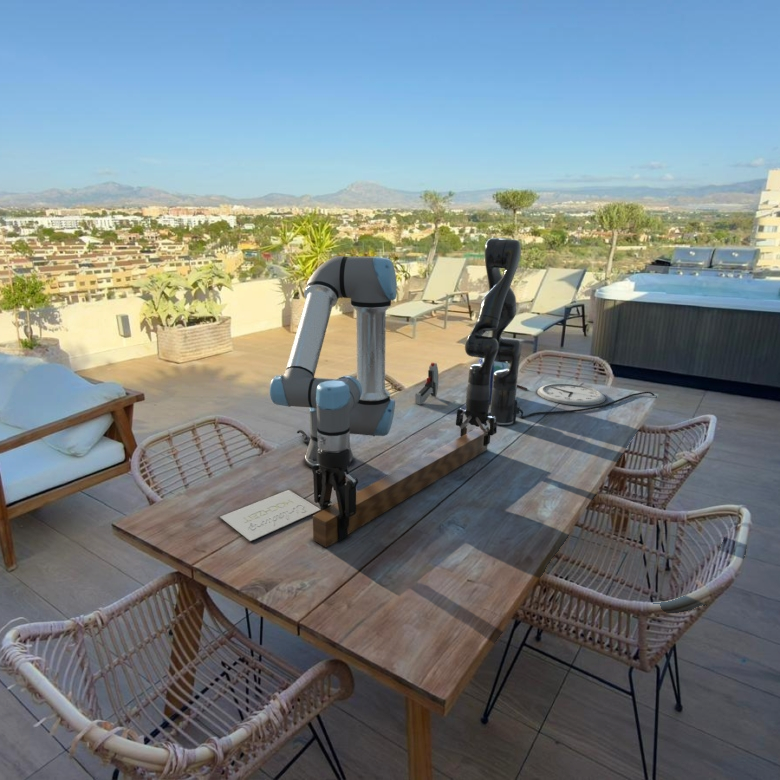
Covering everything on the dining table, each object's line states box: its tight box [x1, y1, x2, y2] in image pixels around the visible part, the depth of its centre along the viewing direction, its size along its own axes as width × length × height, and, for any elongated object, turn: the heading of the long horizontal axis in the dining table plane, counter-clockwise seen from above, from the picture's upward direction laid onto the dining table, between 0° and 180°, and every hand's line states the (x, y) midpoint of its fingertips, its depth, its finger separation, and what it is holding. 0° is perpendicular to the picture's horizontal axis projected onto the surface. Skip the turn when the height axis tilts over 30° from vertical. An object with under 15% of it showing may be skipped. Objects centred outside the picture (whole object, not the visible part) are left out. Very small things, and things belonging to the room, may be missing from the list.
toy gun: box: [414, 362, 439, 406], centre depth 228 cm, size 2×16×15 cm
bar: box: [312, 427, 488, 548], centre depth 152 cm, size 76×4×7 cm, turn 140°
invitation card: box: [219, 489, 321, 542], centre depth 138 cm, size 21×1×15 cm
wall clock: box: [537, 383, 606, 407], centre depth 241 cm, size 30×2×30 cm
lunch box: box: [478, 358, 510, 406], centre depth 230 cm, size 26×11×21 cm, turn 179°
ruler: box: [517, 384, 528, 391], centre depth 253 cm, size 15×1×1 cm, turn 34°
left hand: (335, 534), depth 129 cm, fingers closed on bar, 4 cm apart
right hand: (474, 441), depth 176 cm, fingers open, 8 cm apart
